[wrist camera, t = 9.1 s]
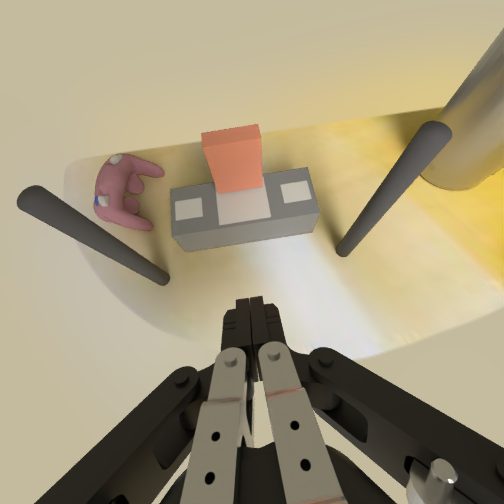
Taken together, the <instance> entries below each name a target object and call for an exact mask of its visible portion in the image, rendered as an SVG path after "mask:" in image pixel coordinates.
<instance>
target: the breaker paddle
mask: <svg viewBox="0 0 504 504" xmlns="http://www.w3.org/2000/svg"><path fill="white" fill-rule="evenodd" d="M201 135H202V146H203V150H204V153H205V156H206V159H207V162H208V165H209V168H210V171H211V174H212V177H213V180H214V183H215V186H216V189H217V192H218V194H222V193H228V192H234V191H241V190H247V189H253V188H259V187H263V177H262V152H261V136H260V131H259V126H258V124H255V125H248V126H243V127H237V128H230V129H224V130H218V131H212V132H206V133H202V134H201Z"/></svg>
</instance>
